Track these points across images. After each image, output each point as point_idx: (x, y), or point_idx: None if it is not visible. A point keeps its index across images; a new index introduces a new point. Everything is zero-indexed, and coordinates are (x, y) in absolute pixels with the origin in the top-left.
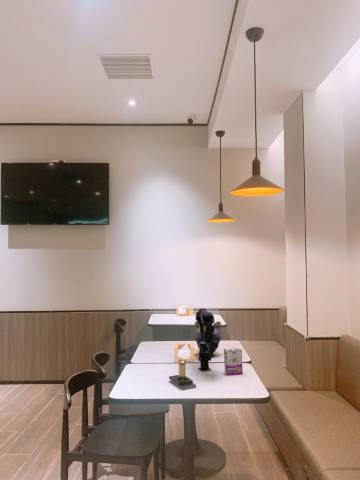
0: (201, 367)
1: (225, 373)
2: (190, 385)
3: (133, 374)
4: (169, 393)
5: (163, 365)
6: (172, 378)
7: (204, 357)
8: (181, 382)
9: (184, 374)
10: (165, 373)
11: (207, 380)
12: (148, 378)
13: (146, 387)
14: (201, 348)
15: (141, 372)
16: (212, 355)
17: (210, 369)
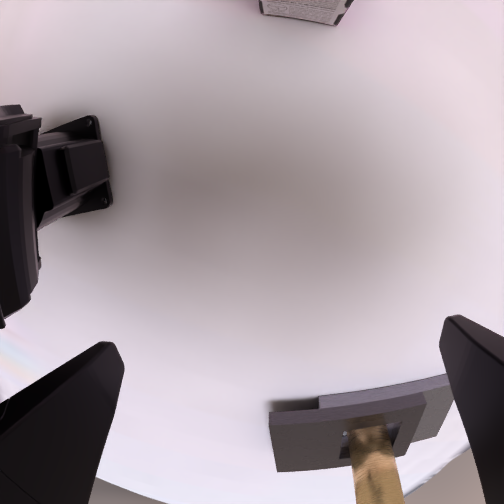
0: (71, 211)
1: (289, 15)
2: (443, 405)
3: (139, 485)
4: (424, 456)
5: (9, 370)
6: (324, 468)
7: (32, 235)
8: (408, 445)
9: (395, 462)
10: (134, 424)
11: (390, 265)
12: (202, 480)
13: (313, 496)
14: (84, 494)
15: (115, 466)
16: (490, 335)
17: (95, 117)
